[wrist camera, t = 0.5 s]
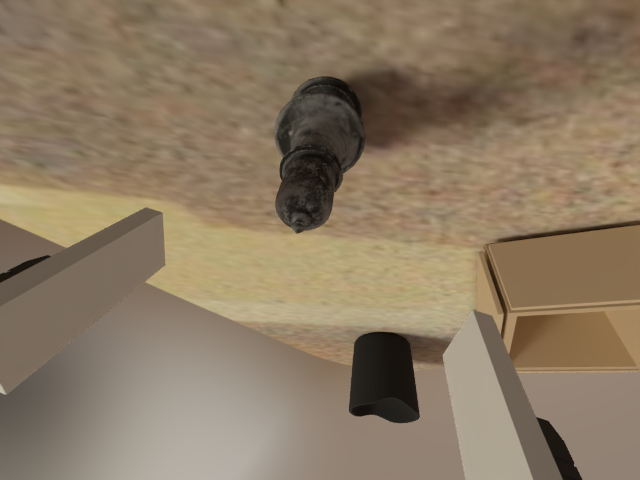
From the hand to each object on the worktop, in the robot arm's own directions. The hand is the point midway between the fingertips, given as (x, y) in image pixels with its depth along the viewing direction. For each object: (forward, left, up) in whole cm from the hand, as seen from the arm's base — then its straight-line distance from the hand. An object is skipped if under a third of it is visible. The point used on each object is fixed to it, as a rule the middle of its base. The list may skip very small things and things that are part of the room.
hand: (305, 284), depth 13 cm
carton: (+10, +25, -14) cm, 31 cm away
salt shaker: (-1, -1, -14) cm, 15 cm away
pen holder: (+33, +15, -14) cm, 40 cm away
